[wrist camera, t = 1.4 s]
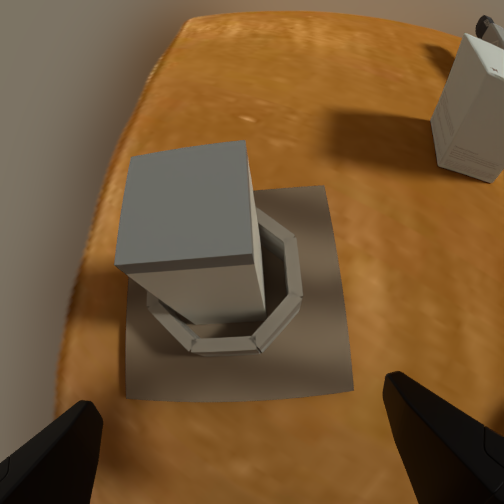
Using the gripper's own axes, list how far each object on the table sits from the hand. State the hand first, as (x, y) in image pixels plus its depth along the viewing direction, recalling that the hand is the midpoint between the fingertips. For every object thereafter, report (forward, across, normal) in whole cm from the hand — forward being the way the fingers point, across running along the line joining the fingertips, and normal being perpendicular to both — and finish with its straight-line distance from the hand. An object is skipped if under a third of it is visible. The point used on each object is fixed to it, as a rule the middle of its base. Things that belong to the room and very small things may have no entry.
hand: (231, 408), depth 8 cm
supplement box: (+23, -24, -4) cm, 34 cm away
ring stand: (+15, +1, +4) cm, 16 cm away
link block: (+14, +1, +3) cm, 15 cm away
